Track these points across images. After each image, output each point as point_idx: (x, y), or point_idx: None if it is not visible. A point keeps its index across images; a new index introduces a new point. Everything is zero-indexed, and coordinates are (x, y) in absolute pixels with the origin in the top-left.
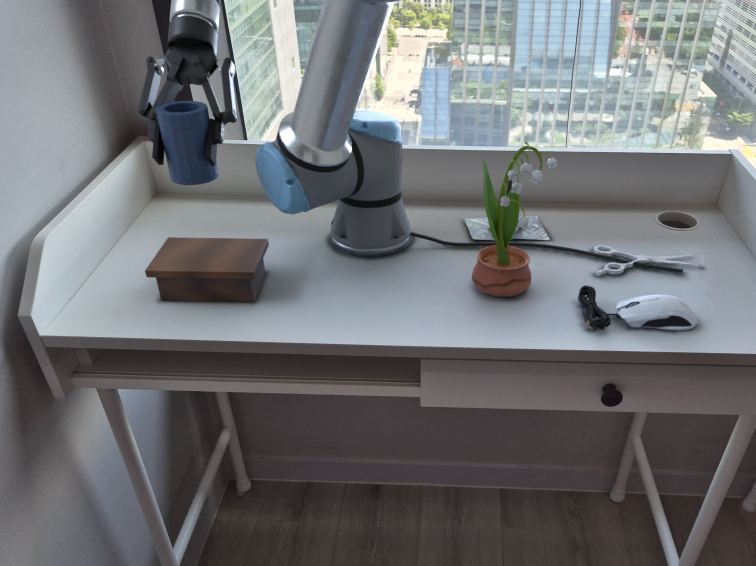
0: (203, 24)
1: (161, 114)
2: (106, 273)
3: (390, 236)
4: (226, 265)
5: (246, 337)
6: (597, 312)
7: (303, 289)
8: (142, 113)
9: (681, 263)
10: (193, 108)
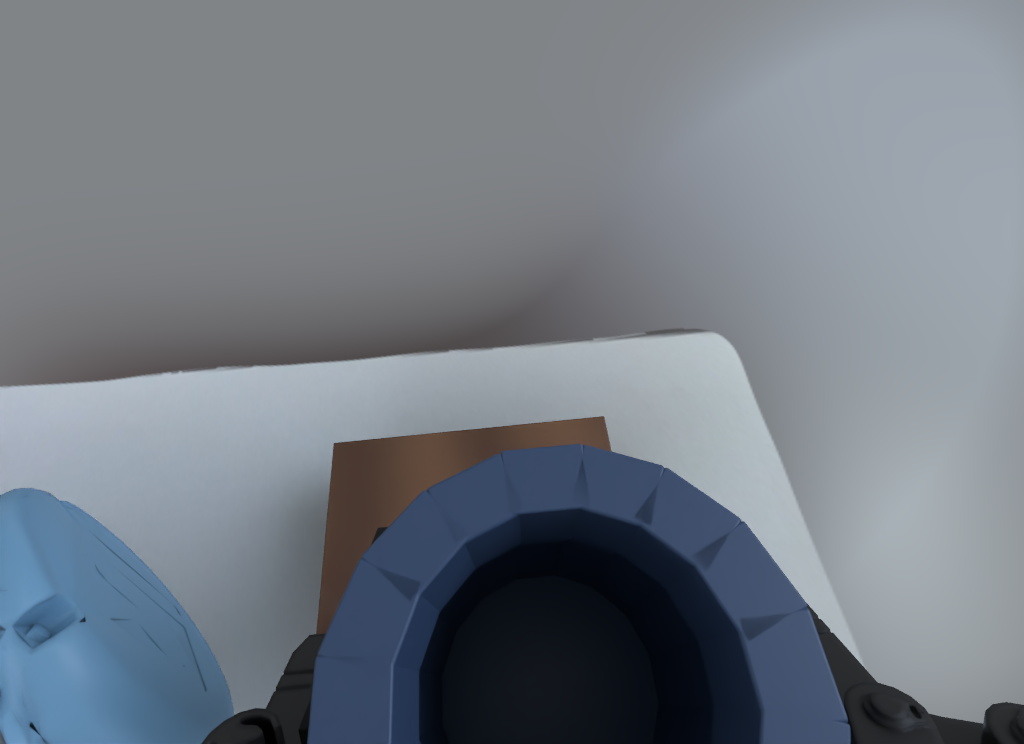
0: None
1: (665, 472)
2: (798, 582)
3: None
4: (409, 466)
5: (367, 368)
6: None
7: (258, 565)
8: (991, 709)
9: None
10: None
